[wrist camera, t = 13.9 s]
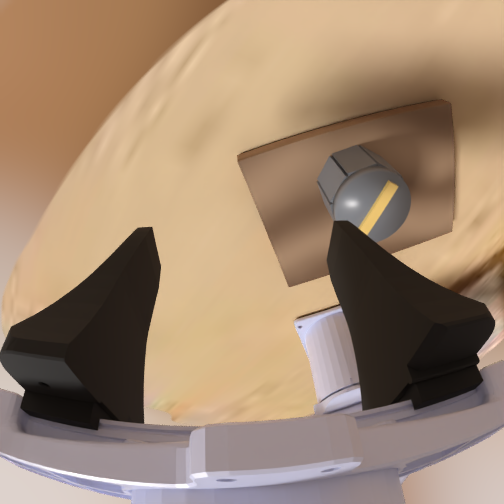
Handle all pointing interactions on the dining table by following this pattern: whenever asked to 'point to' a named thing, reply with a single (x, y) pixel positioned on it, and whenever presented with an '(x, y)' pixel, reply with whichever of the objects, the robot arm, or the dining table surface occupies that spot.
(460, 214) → the dining table surface
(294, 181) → the stud board
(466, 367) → the robot arm
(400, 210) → the grey control knob
